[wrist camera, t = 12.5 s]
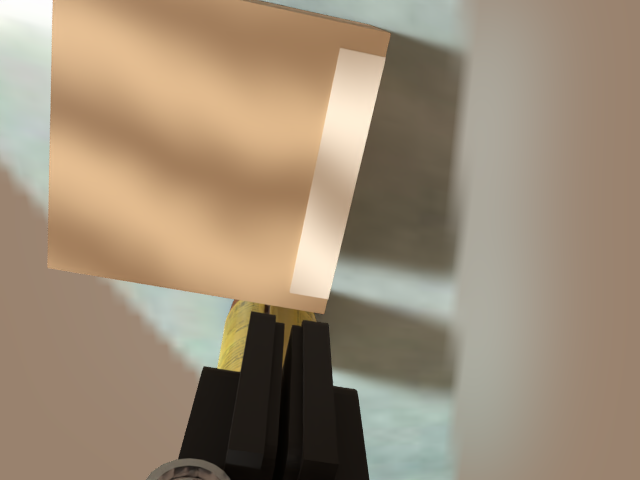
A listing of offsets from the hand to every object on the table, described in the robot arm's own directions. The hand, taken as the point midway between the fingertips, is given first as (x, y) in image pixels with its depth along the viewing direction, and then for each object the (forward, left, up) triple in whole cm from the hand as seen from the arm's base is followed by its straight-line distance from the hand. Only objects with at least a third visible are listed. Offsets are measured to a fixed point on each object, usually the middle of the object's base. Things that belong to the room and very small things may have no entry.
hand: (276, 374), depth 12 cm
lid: (0, -4, -16) cm, 17 cm away
